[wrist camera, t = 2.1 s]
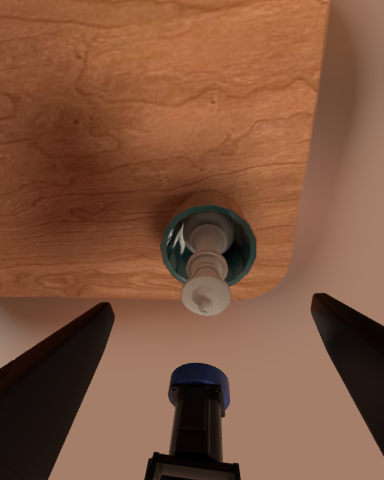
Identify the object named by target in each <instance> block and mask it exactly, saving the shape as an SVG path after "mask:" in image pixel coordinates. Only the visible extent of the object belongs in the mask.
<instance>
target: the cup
mask: <svg viewBox="0 0 384 480" xmlns="http://www.w3.org/2000/svg"><path fill="white" fill-rule="evenodd" d="M206 211H214V212H218V213H221V214H225V215H228V216H230V217H231V218H232V220H233V224H234V230H235V237H234V240H233V243H232V245H231V246H230V248H229V249H228V250H227V251H226V252H225V253H223V254H221V255H222V256H223V257H224V258H225V260H226V262H227V266H228V273H227V276H226V278H225V279H224V281H226V283H227V284H228V285H229V286H231V285H234V284H236V283H237V282H239V281H240V280H241V279H242V278H243V277H244V276H245V275H246V274H248V273H249V271H250V269H251V267H252V265H253V263H254V261H255V259H256V237H255V235H254V233H253V231H252V229H251V227H250V225H249V223H248V221H247V219H246V217H245V215H244V214H243V212H242V210H241V208H240V206H239V205H238V204H237V203H236V202H235V201H234V200H233V199H232V198H231V197H229V196H227V195H225V194H223V193H220V192H216V191H202V192H198V193H195V194H193V195H191V196H189V197H188V198H187V199H185V200H184V201H183V202H182V203H181V205H180V206H179V207H178V209H177V210H176V211H175V213H174V215H173V216H172V218H171V220H170V221H169V223H168V224H167V226H166V228H165V229H164V232H163V236H162V241H161V245H160V249H161V254H162V258H163V263H164V264H165V266H166V267H167V269H168V270H169V272H170V273H171V274H172V276H173V277H174V278H176V279H177V280H179V281H180V282H182V283H183V284H184V283H185V281H186V280H188V279H189V277H188V274H187V270H186V267H187V262H188V260H189V258H190V257H191V256H192V255H193V254H194V253H193V252H192V251H191V250H189V249H188V247H187V246H186V245H185V242H184V240H183V234H182V231H183V226H184V221H185V219H186V217H187V216H189V215H191V214H193V213H196V212H206Z"/></svg>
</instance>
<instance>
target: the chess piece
mask: <svg viewBox="0 0 384 480" xmlns="http://www.w3.org/2000/svg"><path fill="white" fill-rule="evenodd" d="M182 234H183V240H184V242H185V245H186V246H187V247H188V249H189V250H191V251H192V252H193V253H194V254H193V255H192V256H191V257H190V258H189V260H188V262H187V267H186V270H187V274H188V277H189V279H188V280H186V281H185V283H184V285H183V286H182V290H181V298H182V301H183V303H184V305H185V306H186V307H187V308H188V309H189V310H190V311H192V312H193V313H196V314H199V315H203V316H211V315H216V314H219V313H221V312H222V311H224V310H225V309H226V308H227V307H228V305H229V303H230V300H231V290H230V287H229V285H228V284H227V283H226V281H224V279H225V278H226V276H227V273H228V266H227V262H226V260H225V258H224V257H223V256H222V255H221V254H223V253H225V252H226V251H227V250H228V249H229V248H230V246H231V245H232V243H233V240H234V237H235V230H234V224H233V220H232V218H231V217H230V216H228V215H225V214H221V213H218V212H214V211H206V212H196V213H193V214H191V215H189V216H187V217H186V219H185V221H184V226H183V231H182Z"/></svg>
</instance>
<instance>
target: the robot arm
mask: <svg viewBox="0 0 384 480" xmlns="http://www.w3.org/2000/svg"><path fill="white" fill-rule="evenodd" d="M311 313H312V316H313V319H314V321H315V324H316V326H317V329H318V331H319V333H320V336H321V338H322V341H323V343H324V345H325V348H326V350H327V352H328V354H329V356H330V358H331V360H332V362H333V364H334V365H335V367H336V369H337V371H338V373H339V374H340V377H341V378H342V380H343V382H344V384H345V386H346V388H347V389H348V391H349V393H350V395H351V397H352V399H353V400H354V402H355V404H356V406H357V408H358V410H359V412H360V414H361V415H362V417H363V419H364V421H365V422H366V425H367V426H368V428H369V430H370V432H371V434H372V435H373V438H374V439H375V441H376V443H377V445H378V447H379V449H380V451H381V452H382V454H383V456H384V326H383V325H381V324H379V323H377V322H375V321H374V320H372V319H370V318H368V317H367V316H365V315H363V314H361V313H359V312H358V311H356V310H354V309H352V308H350V307H349V306H347V305H345V304H343V303H341V302H340V301H338V300H336V299H334V298H333V297H331V296H329V295H327V294H325V293H315V294H314V295H313V298H312V304H311ZM114 319H115V315H114V312H113V310H112V307H111V305H110V303H109V302H101V303H99V304H97V305H96V306H94V307H93V308H91V309H90V310H88V311H87V312H85V313H84V314H82V315H81V316H79V317H78V318H76V319H74V320H73V321H71V322H70V323H69V324H67V325H66V326H64V327H62V328H61V329H59V330H58V331H56V332H55V333H53V334H52V335H50V336H49V337H48V338H46V339H44V340H43V341H41V342H40V343H38V344H37V345H35V346H34V347H32V348H31V349H29V350H28V351H26V352H25V353H23V354H22V355H20V356H19V357H17V358H16V359H15V360H12V361H11V362H9V363H8V364H7V365H5V366H3V367H2V368H0V480H48V478H49V476H50V474H51V471H52V469H53V467H54V465H55V462H56V460H57V458H58V455H59V453H60V450H61V449H62V446H63V444H64V442H65V439H66V437H67V435H68V433H69V430H70V428H71V426H72V423H73V421H74V419H75V417H76V414H77V412H78V409H79V408H80V405H81V403H82V401H83V398H84V396H85V394H86V392H87V389H88V387H89V384H90V383H91V380H92V378H93V376H94V373H95V371H96V369H97V367H98V364H99V362H100V360H101V357H102V355H103V352H104V350H105V347H106V344H107V341H108V338H109V335H110V332H111V329H112V326H113V323H114ZM170 391H171V394H172V398H173V401H174V405H175V414H174V421H173V428H172V435H171V442H170V450H169V455H166V454H159V452H154V454H153V458H150V459H149V460H148V465H147V469H146V474H145V479H144V480H241V479H240V470H239V464H238V463H233V464H231V463H223V454H222V427H221V426H222V425H221V418H222V417H225V407H224V398H223V389H222V386H221V385H220V384H178V383H173V384H171V386H170Z"/></svg>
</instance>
